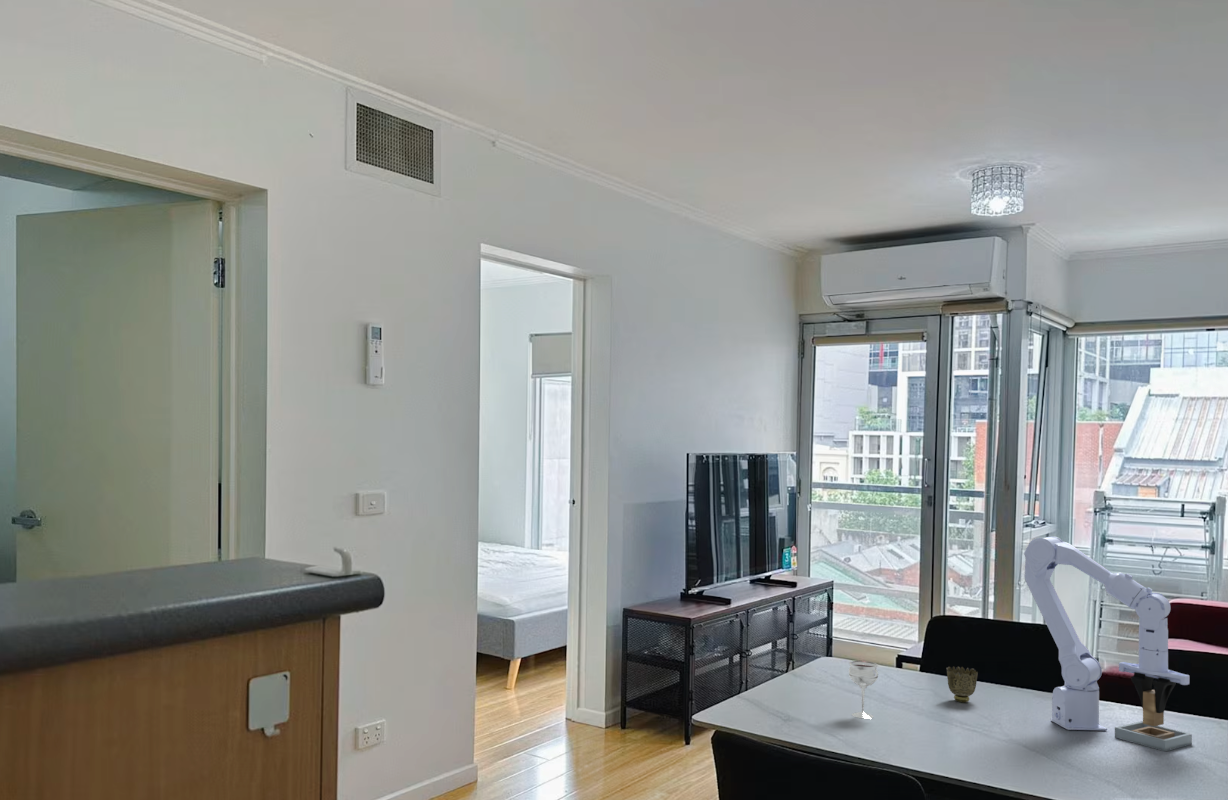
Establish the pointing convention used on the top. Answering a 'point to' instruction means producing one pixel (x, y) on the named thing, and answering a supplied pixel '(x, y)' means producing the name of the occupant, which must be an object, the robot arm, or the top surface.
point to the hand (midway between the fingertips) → (1153, 710)
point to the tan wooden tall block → (1151, 710)
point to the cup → (961, 682)
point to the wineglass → (863, 680)
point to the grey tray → (1153, 736)
